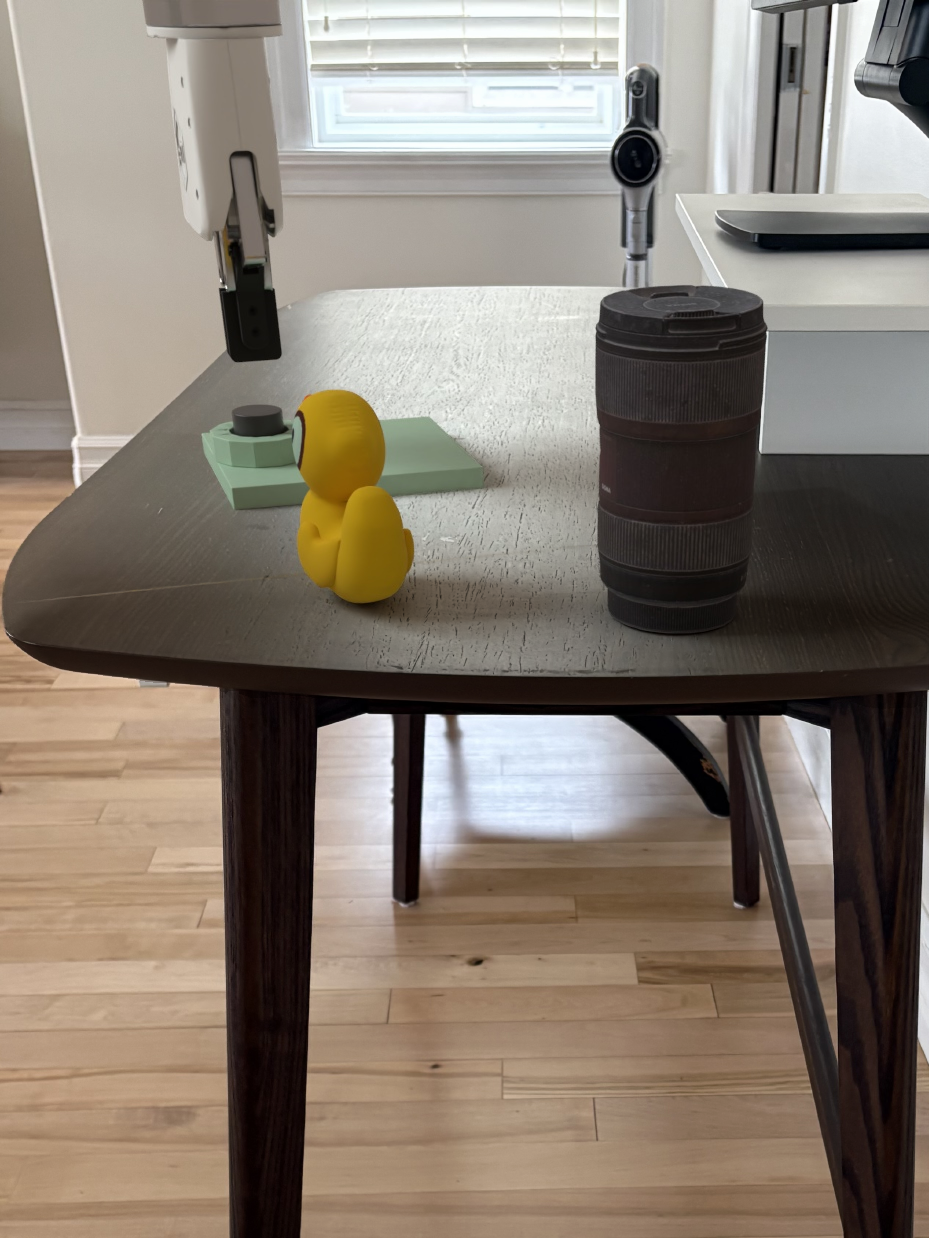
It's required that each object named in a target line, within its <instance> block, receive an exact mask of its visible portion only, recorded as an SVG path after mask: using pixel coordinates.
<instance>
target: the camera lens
mask: <svg viewBox="0 0 929 1238" xmlns="http://www.w3.org/2000/svg"><path fill="white" fill-rule="evenodd" d="M594 328H595V336H594V337H595V338H594V339H595V351H594V352H595V353H594V354H595V355H594V356H595V357H594V365H595V366H594V368H595V369H594V371H595V372H594V375H595V376H594V377H595V378H594V379H595V380H594V381H595V384H594V385H595V386H594V388H595V389H594V392H595V408H596V409H595V410H596V418H597V422H598V425H599V429H598V430H599V433H598V434H599V457H598V460H599V461H598V462H599V463H598V503H597V529H596V530H597V532H596V533H597V534H596V535H597V543H596V544H597V552H598V559H599V576H600V581H601V582H602V583H603V585H604V586H605V588H606V590H607V591H606V592H607V595H606V596H607V611H608V612H609V614H610V616H611V617H612V618H613V619H615V620H616V621H617V622H619V623H621V624H623V625H625V626H627V627H630V628H631V627H632V628H634V629H638V630H641V631H647V632H655V633H663V634H693V633H702V632H708V631H712V630H715V629H718V628H719V629H720V628H722V627H724V626H726V625H727V624H729V623H730V622H732V620H733V619H734V618H735V616H736V613H737V603H738V594H739V593H740V591H742V589H743V588H744V587H745V586H746V583H747V576H748V569H749V568H748V567H749V561H750V558H751V552H752V547H753V546H752V545H753V536H754V517H755V516H754V515H755V514H754V513H755V510H754V509H755V508H754V493H755V492H754V488H755V474H756V453H757V432H758V426H759V425H760V422H761V418H762V414H761V412H762V411H761V409H762V407H763V406H762V405H763V401H764V389H765V388H764V387H765V386H764V385H765V384H764V383H765V365H766V350H767V349H766V348H767V346H766V345H767V340H768V334H767V331H768V330H769V329H768V325H767V323H766V321H765V317H764V300H763V299H762V297H760V295H758V294H757V293H756V294H755V293H753V292H750V291H747V290H743V289H739V288H735V287H726V286H718V285H692V284H678V285H676V284H675V285H674V284H673V285H657V286H656V285H655V286H645V287H644V286H643V287H635V288H630V289H627V290H623V289H622V290H618V291H615V292H612V293H610V294H609V293H608V294H607V295H604V296H603V298H602V299H601V300H600V303H599V317H598V322H597V323H596V325H595V327H594Z"/></svg>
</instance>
